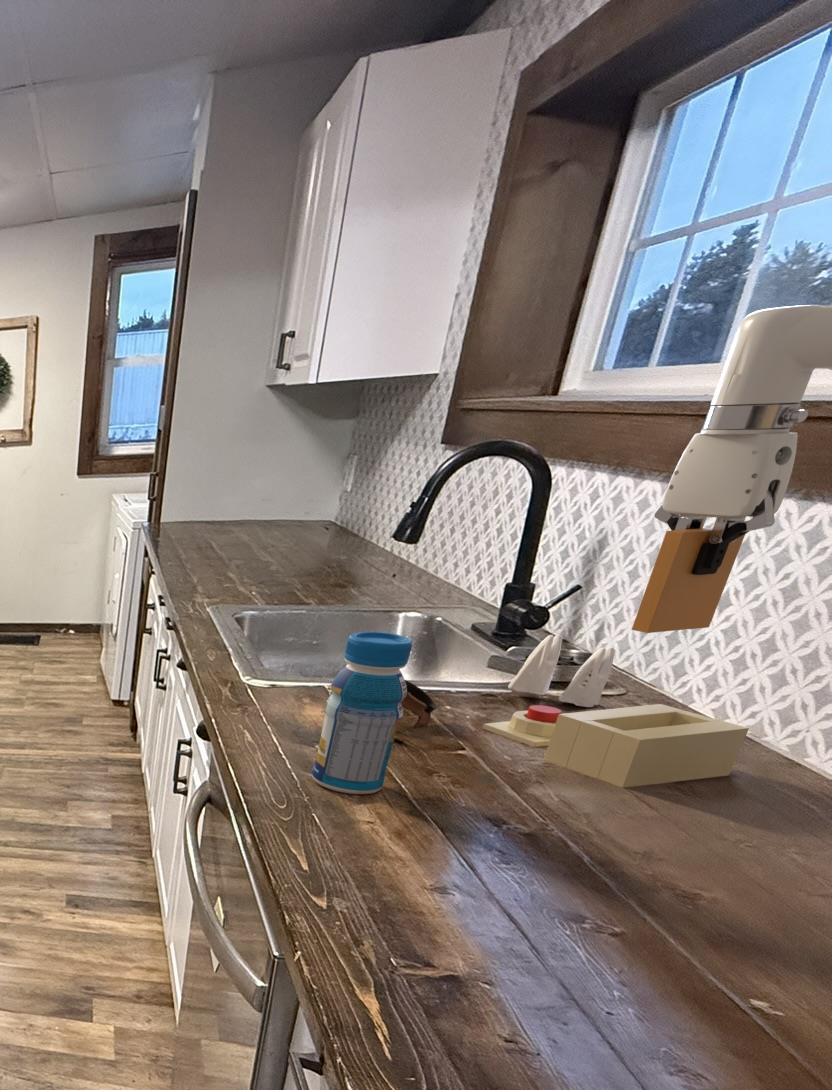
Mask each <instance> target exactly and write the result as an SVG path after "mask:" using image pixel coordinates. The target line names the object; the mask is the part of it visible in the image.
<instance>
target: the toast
mask: <svg viewBox="0 0 832 1090" xmlns="http://www.w3.org/2000/svg"><path fill="white" fill-rule="evenodd" d="M712 529H713V527H703V528H699V529H685V530H671V529H670V530H666V531H665V533H664V537H663V540H662V542H661V544H660V548H659V551H658V553H657V557H656V559H655V562H654V565H653V567H652V570H651V574H650V576H649V579H648V582H647V585H646V587H645V590H644V593H643V596H642V599H641V602H640V605H639V607H638V610H637V613H636V615H635V619H634V621H633V623H632V627H631V630H632V631H635V632H641V633H645V634H652V633H662V632H673V631H683V630H684V631H685V630H697V629H706V628H707V629H708V628H710V626H711V623H712V621H713V619H714V615H715V613H716V610H717V608H718V606H719V603H720V600H721V597H722V595H723V592H724V590H725V587H726V585H727V582H728V580H729V578H730V575H731V573H732V570H733V567H734V565H735V562H736V559H737V556H738V554H739V551H740V549H741V547H742V544H743V542H744V539H745V536H746V534H744V535H742V536H741V537H739V538H738V539H737V540H736V541H735V542H732V543H729V546H728V548H727V551H726V554H725V556H724V559H723V561H722V564H721V566H720V567H719V568H718V570H717V572H716V573H714V574H706V575H694V574H692V570H693V567H694V565H695V562H696V559H697V557H698V554H699V551H700V548H701V546H702V544H703V543H708V542H709V537H710V535H711V532H712Z"/></svg>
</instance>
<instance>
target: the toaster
mask: <svg viewBox="0 0 832 1090" xmlns="http://www.w3.org/2000/svg"><path fill="white" fill-rule="evenodd" d="M749 730H750V728H749V727H746V726H742V725H738V724H736V723H731V722H728V721H724V720H721V719H718V718H717V719H716V718H714V717H709V716H707V715H702V714H699V713H695V712H691V711H687V710H684V709H680V708H677V707H673V706H669V705H666V704H662V703H657V704H656V703H655V704H646V705H645V704H644V705H637V706H629V707H628V706H627V707H616V708H607V709H606V708H605V709H596V710H587V711H586V710H585V711H577V712H575V711H574V712H567V713H561V714H559V716H558V719H557V722H556V725H555V727H554V730H553V733H552V736H551V739H550V742H549V745H548V746H547V748H546V750H545V751H546V752H545V755H544V758H543V760H544V761H547V762H549V763H552V764H554V765H557V766H560V767H563V768H565V769H568V770H570V771H573V772H576V773H579V774H581V775H584V776H586V777H589V778H592V779H598V780H600V781H603V782H606V783H609V784H611V785H614V786H617V787H619V788H632V787H633V788H634V787H640V786H648V785H649V786H650V785H658V784H666V783H667V784H668V783H675V782H684V781H692V780H700V779H710V778H718V777H727V776H730V775H731V771H732V769H733V767H734V765H735V762H736V759H737V757H738V755H739V753H740V751H741V749H742V746H743V743H744V742H745V739H746V736H747V735H748V732H749Z"/></svg>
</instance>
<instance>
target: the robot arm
mask: <svg viewBox="0 0 832 1090" xmlns="http://www.w3.org/2000/svg"><path fill="white" fill-rule="evenodd" d="M815 369H822V370H823V369H826V370H827V369H828V370H831V371H832V305H824V304H805V305H804V304H803V305H791V306H790V305H789V306H780V307H770V308H765V309H760V310H756V311H753V312H751V313H749V314H748V315H745V317H744V318H742V320H741V321H740V323H739V324H738V326H737V329H736V331H735V334H734V336H733V340H732V342H731V345H730V348H729V351H728V354H727V357H726V359H725V363H724V365H723V368H722V372H721V373H720V376H719V378H718V379H719V380H718V383H717V384H716V388H715V391H714V393H713V396H712V397H713V398H712V399H711V402H710V406H708V410H707V413H706V416H705V418H704V422H703V424H702V427H701V430H700V432H697V433H694V435H693V436H692V438H691V439H690V441H689V443H688V444H687V446H686V447H685V449H684V450H683V452H682V454H681V457H680V458H679V460H678V462H677V465H676V466H675V468H674V471H673V474H672V475H671V478H670V480H669V482H668V485H667V487H666V490H665V492H664V495H663V500H662V504H661V505H660V507H658V509H657V510H656V512H655V513H654V518H655V519H657V520H658V521H661V522H662V523H664V524H667V526H668V528H669V529H670V531H671V530H685V529H699V528H704V526H705V523H706V520H707V518H708V517H709V518H716V519H715V522H714V523H713V526H712V528H713V529H712V532H711V535H710V537H709V542H708V543H703V544H702V546H701V548H700V551H699V554H698V557H697V559H696V562H695V565H694V567H693V570H692V574H694V575H706V574H714V573H716V572H717V570H718V568H719V567H720V566H721V564H722V561H723V559H724V556H725V554H726V551H727V548H728V546H729V543H732V542H735V541H736V540H737V539H738V538H739V537H741V536H742V535H744V534H745V535H746V534H747V533H750V532H751V531H757V530H761V529H766V528H770V527H772V526H773V525H774V524H775V522H776V521H775V514H777V512H778V511H779V510H780V507H781V506H782V503H783V500H784V498H785V495H786V492H787V489H788V486H789V483H790V479H791V476H792V472H793V469H794V464H795V459H796V454H797V446H798V437H799V435H798V432H790V431H791V428H793V426H794V424H795V423H802V422H804V421H805V420H806V419H807V418H808V416H809V410H808V409H801V406H802V404H801V403H802V400H803V398H804V395H805V392H806V391H807V387H808V385H809V382H810V380H811V377H812V375H813V372H814V370H815ZM747 517H751V519H748V520H746V518H747Z"/></svg>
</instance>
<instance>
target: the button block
mask: <svg viewBox="0 0 832 1090" xmlns="http://www.w3.org/2000/svg"><path fill="white" fill-rule="evenodd" d="M527 712H528V710H517V711H515V712H513V713H512V715H511V719H510V720H508V721H499V722H498V721H497V722H487V723H483V725H482V729H483V730H486V731H488V732H491V733H494V734H497V735H500V736H503V737H505V738H508V739H510V740H513V741H516V742H518V743H521V744H524V745H527V746H530V747H533V748H539V747H548V745H549V742H550V739H551V736H552V733H553V730H554V727H555V725H556V723H548V722H540V721H534V720H531V719H528V718H526V715H527Z"/></svg>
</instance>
